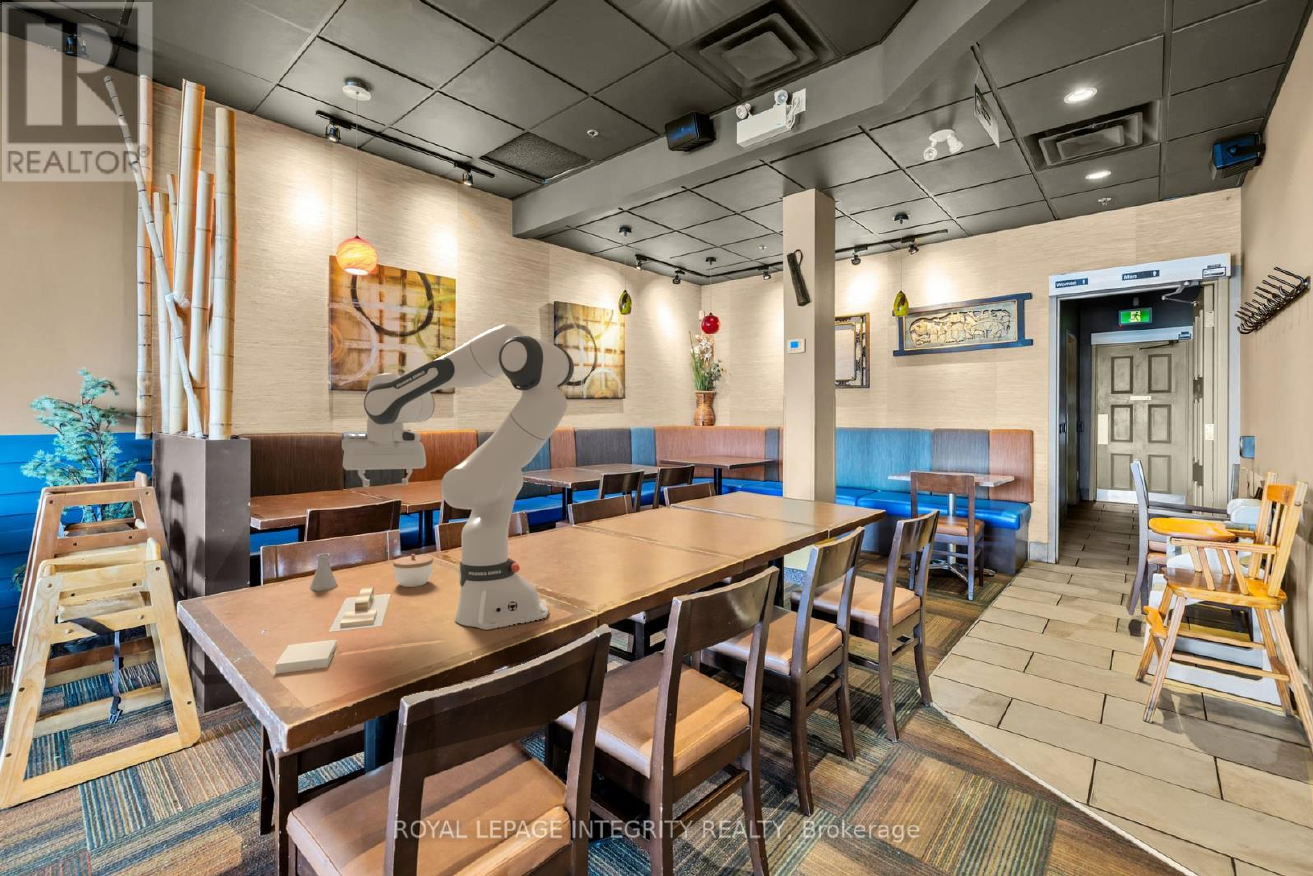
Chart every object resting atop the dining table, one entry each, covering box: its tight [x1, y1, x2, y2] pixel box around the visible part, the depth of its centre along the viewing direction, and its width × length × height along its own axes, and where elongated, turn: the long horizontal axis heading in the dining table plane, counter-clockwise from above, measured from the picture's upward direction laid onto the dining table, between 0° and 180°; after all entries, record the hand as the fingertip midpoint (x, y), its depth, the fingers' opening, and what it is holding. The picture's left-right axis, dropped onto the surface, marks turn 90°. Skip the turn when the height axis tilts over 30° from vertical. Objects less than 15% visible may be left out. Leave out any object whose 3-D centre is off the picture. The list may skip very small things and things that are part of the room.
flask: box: [309, 553, 339, 592], centre depth 166 cm, size 7×7×10 cm
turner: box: [340, 585, 377, 628], centre depth 146 cm, size 22×7×3 cm, turn 20°
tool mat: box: [328, 593, 391, 633], centre depth 146 cm, size 11×26×1 cm, turn 20°
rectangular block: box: [274, 639, 338, 674], centre depth 118 cm, size 9×2×10 cm
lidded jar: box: [392, 553, 434, 588], centre depth 169 cm, size 11×11×9 cm
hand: (385, 486), depth 155 cm, fingers open, 8 cm apart
